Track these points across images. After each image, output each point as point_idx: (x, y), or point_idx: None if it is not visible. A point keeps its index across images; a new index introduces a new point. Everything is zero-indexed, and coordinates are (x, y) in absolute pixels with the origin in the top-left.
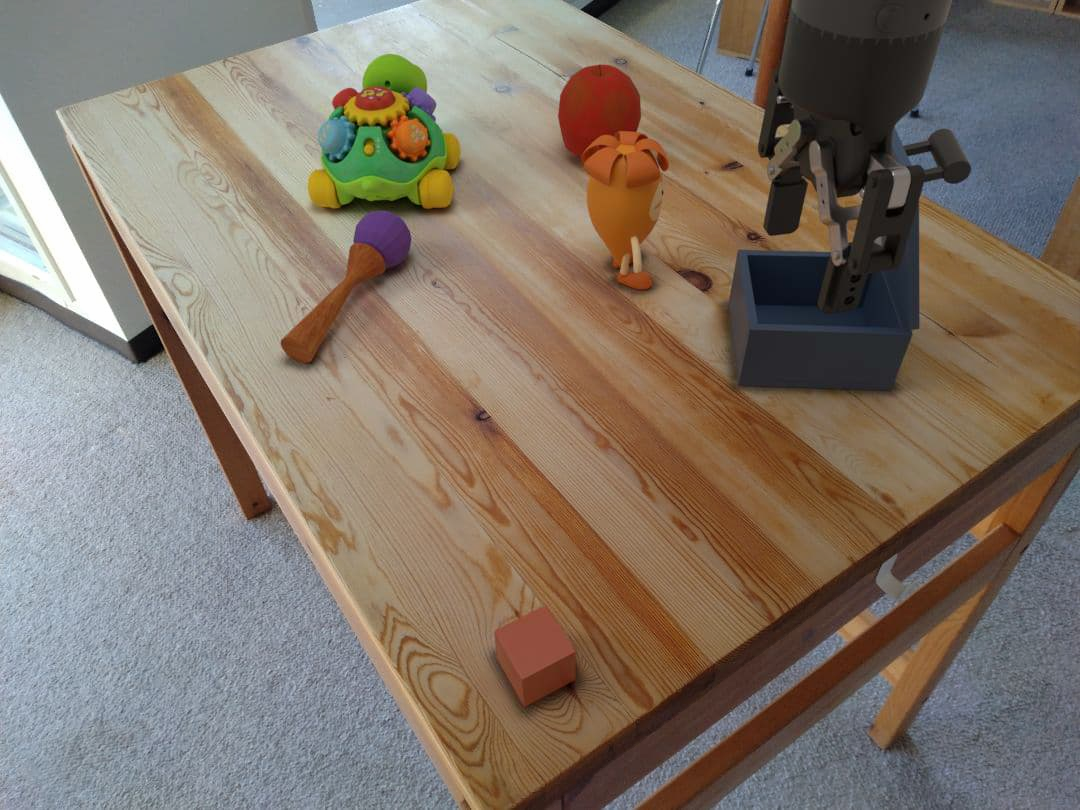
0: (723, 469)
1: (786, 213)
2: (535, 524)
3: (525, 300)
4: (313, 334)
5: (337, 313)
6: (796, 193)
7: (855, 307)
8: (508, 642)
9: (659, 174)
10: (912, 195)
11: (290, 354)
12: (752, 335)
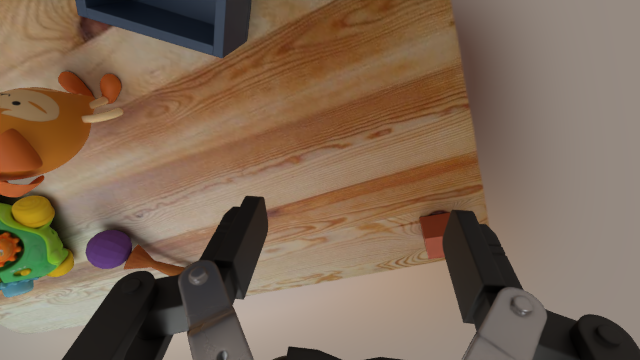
0: (336, 89)
1: (256, 237)
2: (349, 207)
3: (148, 171)
4: None
5: (181, 269)
6: (242, 257)
7: (488, 227)
8: (438, 256)
9: (7, 131)
10: None
11: None
12: (225, 52)
